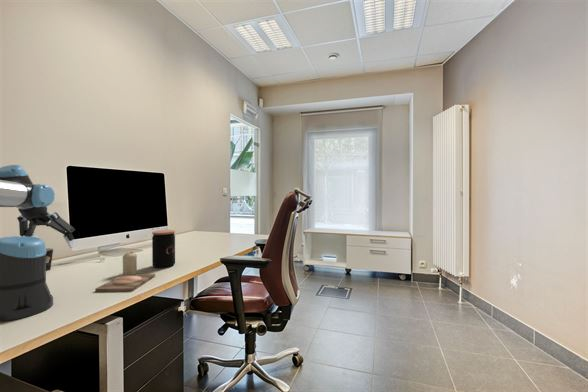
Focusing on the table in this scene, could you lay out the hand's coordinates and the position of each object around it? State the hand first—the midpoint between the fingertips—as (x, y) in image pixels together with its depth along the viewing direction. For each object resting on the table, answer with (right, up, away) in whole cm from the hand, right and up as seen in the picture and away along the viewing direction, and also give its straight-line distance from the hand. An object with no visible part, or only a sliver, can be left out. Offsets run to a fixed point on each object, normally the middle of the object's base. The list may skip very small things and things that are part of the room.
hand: (57, 246), depth 113 cm
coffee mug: (-24, -15, +16) cm, 32 cm away
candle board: (+31, -15, -2) cm, 35 cm away
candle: (+24, -15, +12) cm, 30 cm away
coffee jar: (+33, -15, +25) cm, 44 cm away
